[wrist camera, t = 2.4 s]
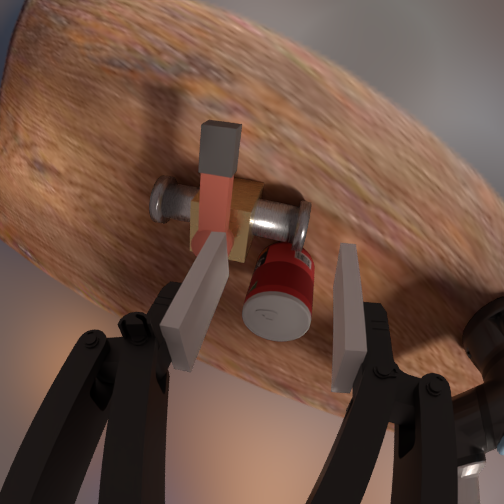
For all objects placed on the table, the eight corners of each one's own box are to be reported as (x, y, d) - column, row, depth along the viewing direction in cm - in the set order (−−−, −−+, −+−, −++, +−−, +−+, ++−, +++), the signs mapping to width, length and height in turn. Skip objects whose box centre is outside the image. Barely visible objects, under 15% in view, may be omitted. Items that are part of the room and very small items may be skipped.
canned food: (256, 238, 43) (238, 292, 34) (316, 241, 42) (313, 297, 33) (259, 282, 47) (243, 338, 38) (313, 286, 46) (308, 344, 37)
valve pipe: (312, 192, 38) (309, 228, 31) (301, 236, 42) (296, 278, 34) (169, 167, 39) (137, 194, 32) (169, 210, 43) (140, 243, 36)
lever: (232, 257, 34) (227, 268, 33) (197, 249, 35) (190, 260, 33) (247, 125, 26) (242, 130, 24) (203, 119, 26) (195, 123, 25)
